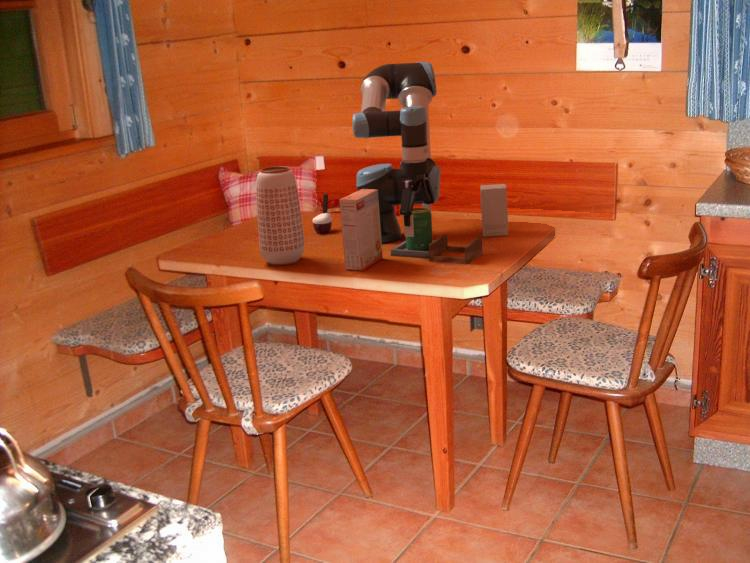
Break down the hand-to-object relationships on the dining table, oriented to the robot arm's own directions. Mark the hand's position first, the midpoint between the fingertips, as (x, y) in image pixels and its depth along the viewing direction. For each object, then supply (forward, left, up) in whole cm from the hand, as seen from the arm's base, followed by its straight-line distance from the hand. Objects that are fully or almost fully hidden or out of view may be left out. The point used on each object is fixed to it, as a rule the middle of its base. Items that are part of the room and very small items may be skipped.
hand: (418, 230), depth 258 cm
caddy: (+13, -3, -6) cm, 15 cm away
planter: (-35, -21, -7) cm, 42 cm away
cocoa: (-41, +14, -7) cm, 44 cm away
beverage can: (0, 0, -6) cm, 6 cm away
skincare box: (+16, +24, -7) cm, 30 cm away
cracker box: (-10, -17, -7) cm, 21 cm away
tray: (0, 0, -6) cm, 6 cm away
